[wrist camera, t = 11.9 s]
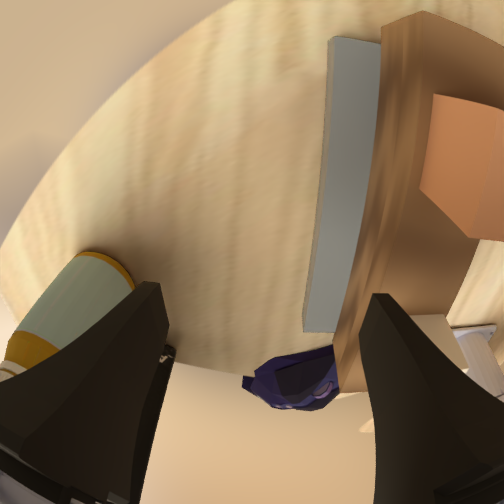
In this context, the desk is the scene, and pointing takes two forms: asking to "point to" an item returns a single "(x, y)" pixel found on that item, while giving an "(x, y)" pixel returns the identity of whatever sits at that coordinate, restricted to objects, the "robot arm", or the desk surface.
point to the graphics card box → (149, 423)
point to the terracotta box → (466, 165)
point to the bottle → (66, 310)
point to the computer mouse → (296, 380)
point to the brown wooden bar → (412, 179)
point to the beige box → (442, 337)
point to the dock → (342, 176)
